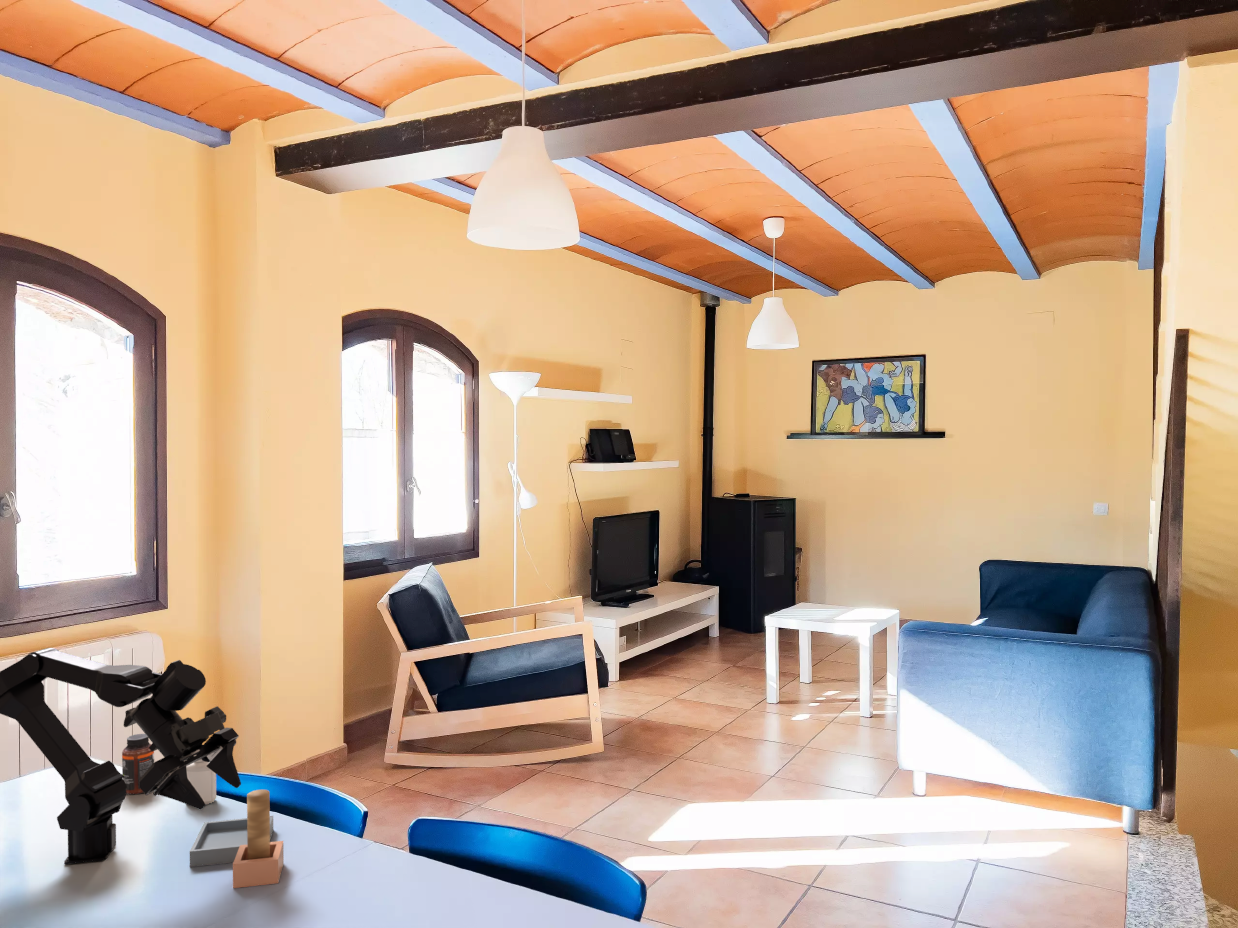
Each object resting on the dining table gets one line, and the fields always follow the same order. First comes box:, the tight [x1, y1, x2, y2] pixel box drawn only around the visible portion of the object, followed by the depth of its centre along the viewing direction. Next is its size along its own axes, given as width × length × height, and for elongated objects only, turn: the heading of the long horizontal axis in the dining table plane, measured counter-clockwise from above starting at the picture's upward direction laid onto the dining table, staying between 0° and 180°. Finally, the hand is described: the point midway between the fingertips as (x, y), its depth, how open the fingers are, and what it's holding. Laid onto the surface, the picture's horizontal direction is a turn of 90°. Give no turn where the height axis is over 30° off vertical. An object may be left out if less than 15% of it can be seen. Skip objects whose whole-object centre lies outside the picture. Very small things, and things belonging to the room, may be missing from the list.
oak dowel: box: [246, 789, 271, 860], centre depth 149 cm, size 4×4×14 cm
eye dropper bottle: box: [186, 755, 217, 805], centre depth 179 cm, size 4×6×12 cm
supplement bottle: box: [121, 733, 155, 795], centre depth 185 cm, size 6×6×11 cm
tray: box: [189, 815, 274, 868], centre depth 159 cm, size 12×12×3 cm
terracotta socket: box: [232, 840, 285, 889], centre depth 149 cm, size 7×7×4 cm
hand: (221, 796), depth 150 cm, fingers open, 9 cm apart
